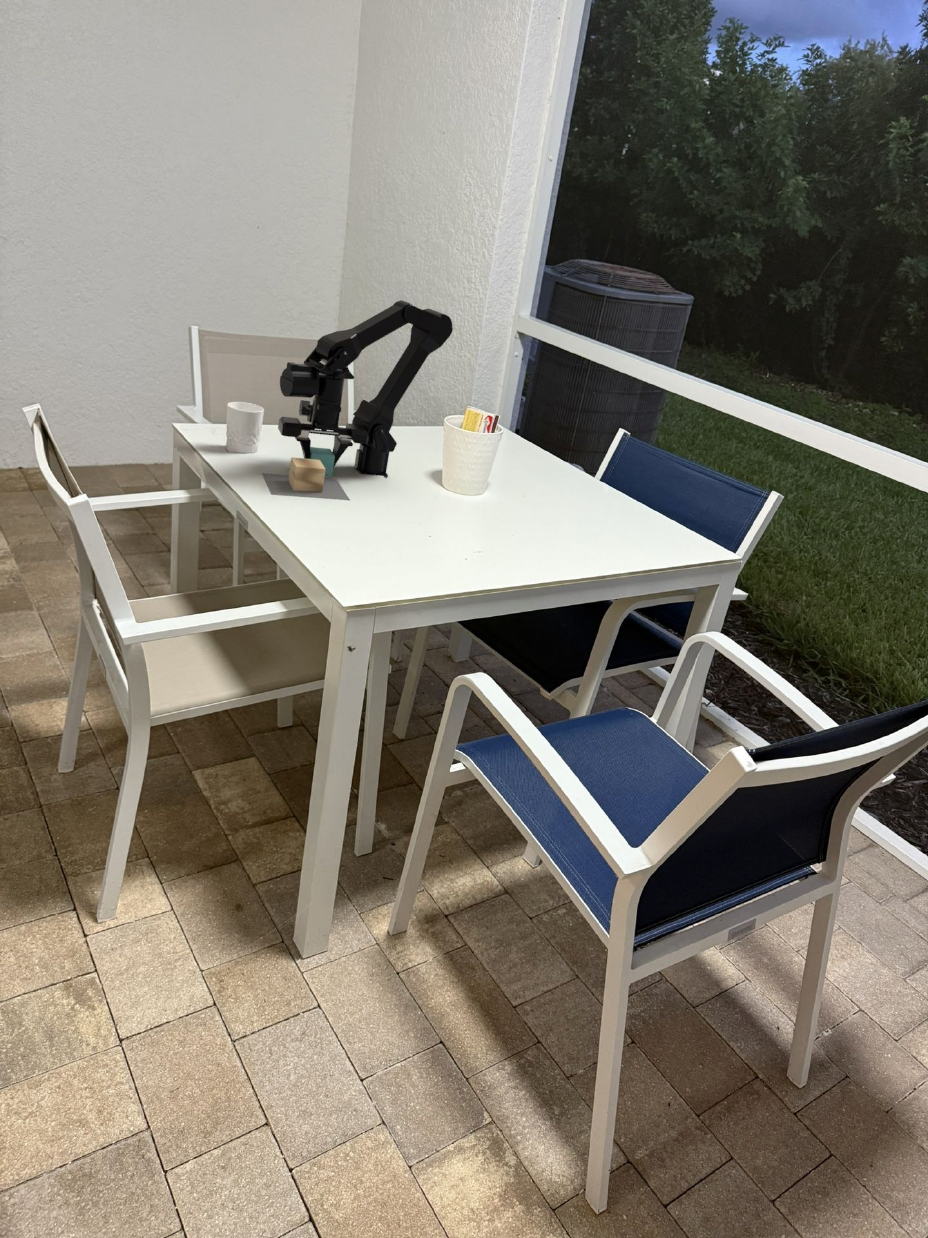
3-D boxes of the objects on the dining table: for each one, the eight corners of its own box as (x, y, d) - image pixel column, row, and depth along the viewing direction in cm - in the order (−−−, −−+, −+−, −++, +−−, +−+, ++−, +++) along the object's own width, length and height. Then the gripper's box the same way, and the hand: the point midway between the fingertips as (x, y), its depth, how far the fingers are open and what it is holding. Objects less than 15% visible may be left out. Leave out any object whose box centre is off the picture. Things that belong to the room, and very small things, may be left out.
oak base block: (316, 482, 192) (319, 459, 190) (322, 492, 187) (325, 469, 185) (288, 480, 190) (291, 457, 188) (293, 490, 185) (296, 466, 183)
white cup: (220, 444, 205) (223, 400, 201) (255, 446, 209) (259, 403, 205) (227, 455, 199) (231, 410, 195) (263, 457, 203) (268, 413, 199)
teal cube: (327, 470, 203) (330, 448, 201) (331, 477, 199) (334, 455, 197) (304, 468, 201) (307, 446, 199) (309, 475, 197) (312, 453, 195)
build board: (336, 481, 197) (336, 478, 197) (349, 502, 187) (350, 499, 186) (261, 475, 191) (261, 472, 191) (271, 496, 181) (271, 494, 180)
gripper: (361, 393, 203) (351, 460, 210) (277, 383, 196) (270, 453, 203) (374, 406, 194) (363, 476, 201) (286, 396, 187) (278, 469, 193)
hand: (318, 468), depth 200 cm, fingers closed on teal cube, 5 cm apart
